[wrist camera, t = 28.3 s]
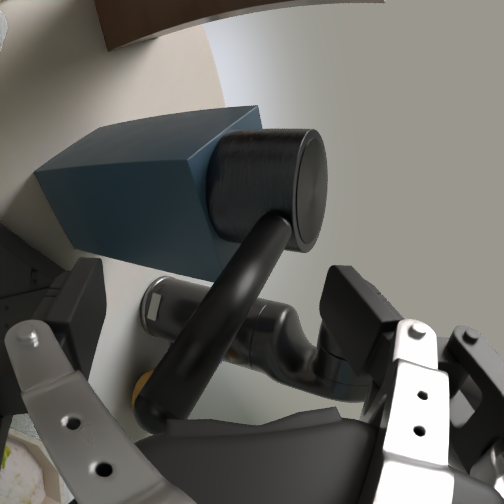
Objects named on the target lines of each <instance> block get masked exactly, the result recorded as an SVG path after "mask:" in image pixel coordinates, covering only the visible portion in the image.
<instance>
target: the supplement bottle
mask: <svg viewBox="0 0 504 504" xmlns="http://www.w3.org/2000/svg"><path fill="white" fill-rule="evenodd" d="M6 34H7V20H6V18H5V16H4V14H3V13H2V12H1V11H0V52H1V49H2V44H3V41H4V39H5V37H6Z"/></svg>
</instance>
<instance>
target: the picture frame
mask: <svg viewBox="0 0 504 504" xmlns="http://www.w3.org/2000/svg"><path fill="white" fill-rule="evenodd" d="M63 272H65V270H64V269H62V268H61V267H59V266H58V265H57V264H55V263H54V262H52V261H51V260H49V259H48V258H47V257H45V256H44V255H42V254H41V253H40V252H38V251H37V250H35V249H34V248H33V247H31V246H30V245H29V244H27V243H26V242H25V241H23V240H22V239H21V238H19V237H18V236H17V235H15V234H14V233H13V232H11V231H10V230H9V229H8V228H6V227H5V226H4V225H3V224H1V223H0V340H5V336H6V334H7V332H8V331H9V329H10V328H11V327H13V326H14V325H16V324H17V323H20V322H22V321H26V320H31V318H32V316H33V315H34V313H35V311H36V309H37V308H38V306H39V304H40V302H41V301H42V299H43V297H45V294H46V292H47V291H48V289H49V287H50V286H51V284H52V283H53V281H54V279H55V278H56V277H58V276H59V275H61V274H62V273H63Z"/></svg>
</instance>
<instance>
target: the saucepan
mask: <svg viewBox="0 0 504 504" xmlns="http://www.w3.org/2000/svg"><path fill="white" fill-rule="evenodd" d="M327 181H328V174H327V159H326V152H325V147H324V143H323V140H322V138H321V136H320V134H319V133H318V131H316V130H314V129H241V130H232V131H229V132H228V133H226V134H225V135H224V136H223V137H222V138H221V139H220V140H219V142H218V143H217V145H216V146H215V148H214V151H213V153H212V156H211V158H210V162H209V166H208V170H207V176H206V204H207V210H208V214H209V218H210V221H211V224H212V226H213V228H214V230H215V231H216V233H217V234H218V235H219V236H220V237H221V238H222V239H223V240H225V241H228V242H233V243H240V244H241V245H240V247H239V248H238V249H237V251H236V252H235V254H234V255H233V257H232V258H231V259H230V261H229V262H228V264H227V265H226V267H225V268H224V269H223V271H222V272H221V274H220V275H219V277H218V278H217V280H216V281H215V282H214V284H213V285H212V287H211V288H210V290H209V291H208V292H207V294H206V295H205V297H204V298H203V300H202V301H201V303H200V304H199V305H198V307H197V308H196V310H195V311H194V313H193V314H192V316H191V317H190V319H189V320H188V321H187V323H186V324H185V326H184V327H183V329H182V330H181V332H180V333H179V335H178V336H177V337H176V339H175V340H174V342H173V343H172V345H171V346H170V348H169V349H168V351H167V352H166V354H165V355H164V356H163V358H162V359H161V361H160V362H159V364H158V365H157V367H156V368H155V370H154V371H153V373H152V374H151V376H150V377H149V379H148V380H147V381H146V383H145V384H144V386H143V387H142V389H141V390H140V392H139V393H138V395H137V397H136V399H135V401H134V406H133V411H134V416H135V418H136V421H137V422H138V424H139V425H140V426H141V427H142V428H143V429H144V430H145V431H147V432H148V433H150V434H153V435H155V434H158V433H163V432H167V419H171V420H187V418H188V416H189V415H190V413H191V411H192V410H193V408H194V406H195V405H196V403H197V401H198V400H199V398H200V396H201V395H202V393H203V391H204V389H205V388H206V386H207V384H208V383H209V381H210V379H211V377H212V376H213V374H214V372H215V371H216V369H217V367H218V365H219V364H220V362H221V360H222V359H223V357H224V355H225V354H226V352H227V350H228V348H229V347H230V345H231V343H232V341H233V340H234V338H235V336H236V334H237V333H238V331H239V329H240V327H241V326H242V324H243V322H244V320H245V319H246V317H247V315H248V313H249V311H250V310H251V308H252V306H253V304H254V303H255V301H256V299H257V297H258V295H259V294H260V292H261V290H262V288H263V286H264V285H265V283H266V281H267V279H268V277H269V276H270V274H271V272H272V270H273V268H274V267H275V265H276V263H277V261H278V259H279V257H280V256H281V254H282V252H283V250H287V251H294V252H301V253H307V252H309V251H310V250H311V249H312V248H313V246H314V245H315V243H316V241H317V238H318V236H319V233H320V230H321V226H322V222H323V218H324V213H325V206H326V197H327Z"/></svg>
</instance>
